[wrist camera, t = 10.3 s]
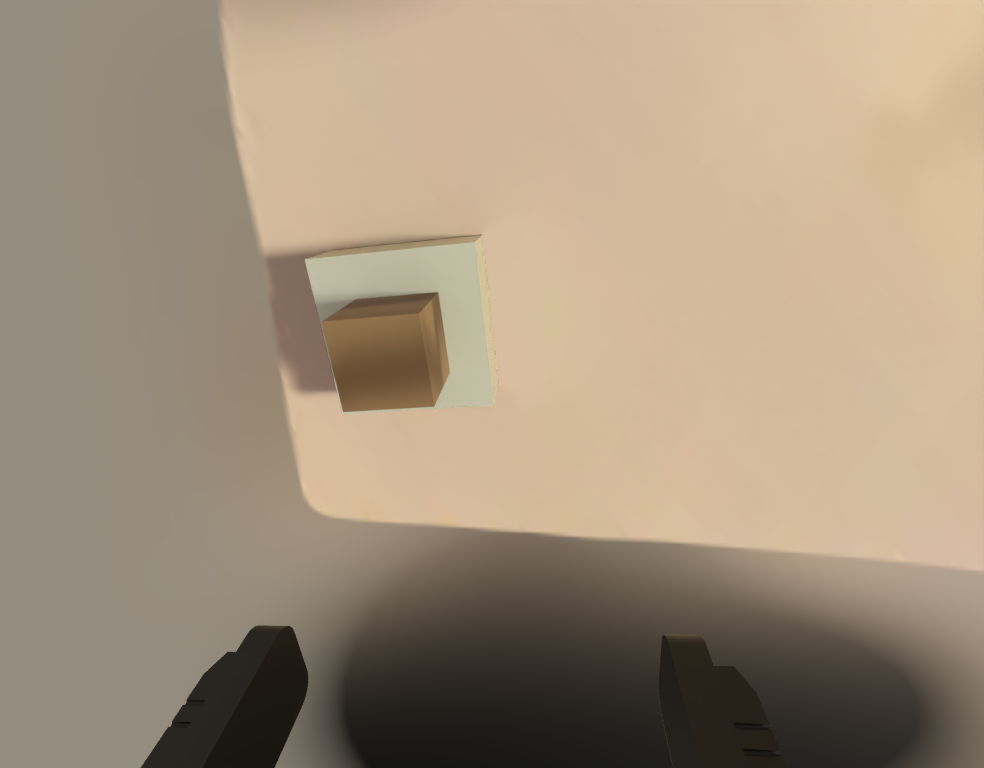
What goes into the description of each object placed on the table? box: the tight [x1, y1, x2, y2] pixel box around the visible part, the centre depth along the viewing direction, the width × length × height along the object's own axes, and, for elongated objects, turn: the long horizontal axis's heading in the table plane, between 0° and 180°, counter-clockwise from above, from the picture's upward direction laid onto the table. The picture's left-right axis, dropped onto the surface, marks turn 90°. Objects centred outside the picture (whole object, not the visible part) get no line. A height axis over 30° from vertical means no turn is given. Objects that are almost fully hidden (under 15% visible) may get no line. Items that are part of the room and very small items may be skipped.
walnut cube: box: [321, 292, 450, 412], centre depth 27 cm, size 5×5×5 cm
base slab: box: [304, 235, 498, 415], centre depth 31 cm, size 10×10×4 cm
